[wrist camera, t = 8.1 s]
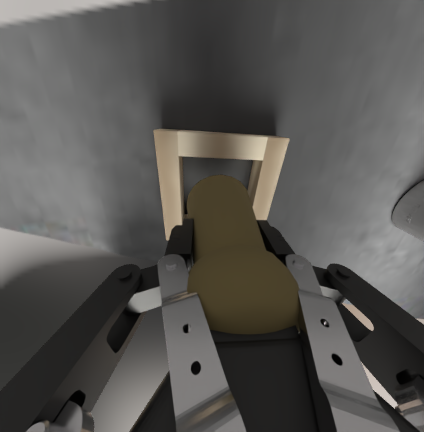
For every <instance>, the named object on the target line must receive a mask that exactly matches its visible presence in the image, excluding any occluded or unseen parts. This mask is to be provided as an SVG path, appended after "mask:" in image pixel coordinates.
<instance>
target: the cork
mask: <svg viewBox="0 0 424 432" xmlns="http://www.w3.org/2000/svg"><path fill="white" fill-rule="evenodd" d="M187 212H188V219H193V240H192V254H193V263H194V265H193V267H192V268H191V269H190V271H189V272H188V274H189V277H188V284H187V292H188V293H190V292H197V294H198V296H199V299H200V302H201V305H202V308H203V311H204V314H205V317H206V320H207V323H208V326H209V329H210V330H215V331H220V332H225V333H231V334H263V333H270V332H276V331H279V330H282V329H286V328H289V327H292V326H294V325H296V328H297V330H298V332H300V330H299V325H298V321H297V319H298V314H299V298H298V290H300V289H299V286H298V283H297V281H296V280H295V278H294V276H293V275H292V273H291V272H290V270H289V269H288V268H287V267H286V266H285V265H284V264H283V263H282V262H281V261H280V260H279V259H278V258H277V257H276V256H275V255H274V254H273V253H271V252H268V251H266V248H265V245H264V242H263V239H262V236H261V233H260V229H259V226H258V223H257V220H256V217H255V214H254V210H253V207H252V204H251V201H250V198H249V195H248V192H247V189H246V188H245V187H244V185H243V184H242V183H241V182H240V181H238V180H236V179H235V178H233V177H230V176H225V175H214V176H209V177H207V178H205V179H203V180H200V181H199V182H198V183H197V184H196V185H195V186H194V187H193V188H192V190H191V192H190V194H189V195H188V200H187ZM188 333H189V332H188Z"/></svg>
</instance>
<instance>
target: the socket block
mask: <svg viewBox="0 0 424 432" xmlns="http://www.w3.org/2000/svg"><path fill="white" fill-rule="evenodd" d="M153 131H154V139H155V148H156V156H157V165H158V173H159V182H160V190H161V199H162V207H163V216H164V225H165V233H166V240H169V237H170V234H171V230H172V229H173V228H174V227H175V226H176V225H182V224H183V219H184V218H188V214H184V187H183V159H182V156H187V157H206V158H225V159H244V160H253V164H252V169H251V174H250V180H249V185H248V190H247V192H248V195H249V198H250V201H251V204H252V207H253V210H254V214H255V217H256V220H267V216H268V213H269V209H270V206H271V202H272V199H273V195H274V192H275V188H276V185H277V181H278V177H279V174H280V170H281V167H282V163H283V160H284V156H285V153H286V149H287V146H288V142H289V138H284V137H278V136H268V135H252V134H236V133H221V132H205V131H190V130H174V129H156V130H153Z"/></svg>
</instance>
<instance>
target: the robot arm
mask: <svg viewBox="0 0 424 432" xmlns="http://www.w3.org/2000/svg"><path fill="white" fill-rule="evenodd" d="M392 221H393V224H394V225H395V226H396V227H398V228H399V229H401V230H403V231H405V232H407V233H409V234H410V235H412V236H414V237H416V238H418V239H420V240H421V241H423V242H424V180H423V181H422V182H420V183H419V184H417V185H416V186H415V187H413V188H412V189H411V190H410V191H409V192H407V193H406V194H405V195H404V196H403V198H402V199H401V200H400V201H399V202H398V204H397V206H396V207H395V209H394V212H393V215H392ZM257 223H258V226H259V229H260V233H261V236H262V239H263V242H264V245H265V248H266V251H268V252H271V253H273V254H274V255H275V256H276V257H277V258H278V259H279V260H280V261H281V262H282V263H283V264H284V265H285V266H286V267H287V268H288V269H289V270H290V272H291V273H292V275H293V276H294V278H295V280H296V281H297V283H298V286H299V289H300V290H298V298H299V314H298V319H297V321H298V325H299V330H300V332H298V330H297V328H296V325H294V326H292V327H289V328H286V329H282V330H279V331H276V332H270V333H263V334H231V333H225V332H220V331H215V330H210V329H209V326H208V323H207V320H206V317H205V314H204V311H203V308H202V305H201V302H200V299H199V296H198V294H197V292H190V293H188V292H187V284H188V277H189V274H188V272H189V271H190V269H191V268H192V260H193V254H192V240H193V219H188V218H184V219H183V224H182V225H176V226H175V227H174V228H173V229H172V230H171V234H170V237H169V241H168V245H167V248H166V252H165V256H164V257H163V258H161V259H160V261H159V262H158V264H157V265H155V266H152V267H149V268H145V269H141V270H140V268H139V267H138V266H137V265H134V264H129V265H124V266H121V267H119V268H117V269H116V270H114V271H113V272H112V273H111V274H110V275H109V276H108V278H107V279H106V280H105V281H104V282H103V283H102V284H101V285H100V286H99V287H98V288H97V289H96V290H95V291H94V292H93V293H92V294H91V296H90V297H89V298H88V299H87V300H86V301H85V302H84V303H83V304H82V305H81V306H80V307H79V308H78V309H77V310H76V311H75V312H74V314H73V315H72V316H71V317H70V318H69V319H68V320H67V321H66V322H65V323H64V324H63V325H62V326H61V327H60V328H59V329H58V330H57V332H56V333H55V334H54V335H53V336H52V337H51V338H50V339H49V340H48V341H47V342H46V343H45V344H44V345H43V346H42V347H41V348H40V350H39V351H38V352H37V353H36V354H35V355H34V356H33V357H32V358H31V359H30V360H29V361H28V362H27V363H26V364H25V366H24V367H23V368H22V369H21V370H20V371H19V372H18V373H17V374H16V375H15V376H14V377H13V378H12V380H10V381H9V382H8V384H7V385H6V386H5V387H4V388H3V389H2V390H1V391H0V432H94V428H95V426H94V418H93V416H92V414H91V413H90V412H91V410H92V409H93V407H94V405H95V403H96V401H97V400H98V398H99V396H100V395H101V393H102V391H103V389H104V387H105V385H106V384H107V382H108V380H109V378H110V377H111V374H112V373H113V371H114V369H115V367H116V366H117V364H118V362H119V361H120V359H121V357H122V355H123V353H124V351H125V350H126V348H127V346H128V344H129V342H130V341H131V339H132V337H133V335H134V333H135V332H136V330H137V328H138V326H139V325H140V323H141V321H142V319H143V317H144V315H145V314H146V312H147V310H150V309H153V308H155V307H158V306H161V305H162V312H163V321H164V329H165V337H166V346H167V354H168V362H169V372H168V373H167V375H166V376H165V378H164V379H163V381H162V382H161V384H160V385H159V387H158V388H157V390H156V391H155V393H154V395H153V396H152V398H151V399H150V401H149V402H148V404H147V405H146V407H145V409H144V410H143V412H142V413H141V415H140V416H139V418H138V419H137V421H136V422H135V424H134V425H133V427H132V428H131V430H130V432H424V325H423V324H422V323H421V322H419V321H418V320H417V319H415V318H414V317H413V316H411V315H410V314H409V313H407V312H406V311H405V310H403V309H402V308H401V307H399V306H398V305H397V304H395V303H394V302H393V301H391V300H390V299H389V298H387V297H386V296H385V295H383V294H382V293H381V292H379V291H378V290H377V289H375V288H374V287H373V286H371V285H370V284H369V283H367V282H366V281H365V280H363V279H362V278H361V277H359V276H358V275H357V274H355V273H354V272H353V271H351V270H350V269H348V268H347V267H345V266H342V265H339V264H330V265H329V266H328V267H327V269H323V268H319V267H315V266H312V265H311V263H310V262H309V261H308V260H307V259H305V258H304V257H302V256H300V255H296V254H295V253H294V252H293V250H292V249H291V247H290V246H289V245H288V243H287V242H286V241H285V239H284V237H282V235H281V233H280V232H279V231H278V230H277V229H276V228H274V227H271V226H270V225H269V223H268V222H267V220H257ZM345 299H347V300H349V301H350V302H351V303H352V304H353V305H354V306H355V307H356V308H357V309H358V310H360V311H361V312H362V313H363V314H364V315H365V316H366V317H367V318H368V319H369V320H370V321H371V322H372V324H373V326H374V330H373V331H371V330H369V329H368V328H367V327H365V326H364V325H363V324H362V323H361V322H360V321H359V320H358V319H357V318H356V317H355V316H354V315H353V314H352V313H351V312H350V311H349V310H348V309H347V308H346V307H345V306H344V305H343V304H342V303H343V302H344V300H345ZM188 332H189V333H188ZM361 362H362V363H363V364H364V365H365V367H366V368H367V369H368V370H369V371H370V372H371V373H372V375H373V376H374V377H375V378H376V379H377V380H378V381H379V383H380V384H381V385H382V386H383V387H384V388H385V390H386V391H387V392H388V393H389V394H390V395H391V396H392V398H393V399H394V400H395V401H396V402H397V404H398V406H396V407H395V409H394V408H393V407H392V406H391V405H390V404H389V403H387V402H386V401H385V400H384V399H383V398H382V397H380V395H378V394H377V393H376V392H375V391H374V390H373V389H372V387H371V384H370V382H369V380H368V378H367V376H366V373H365V370H364V368H363V366H362V363H361Z"/></svg>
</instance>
